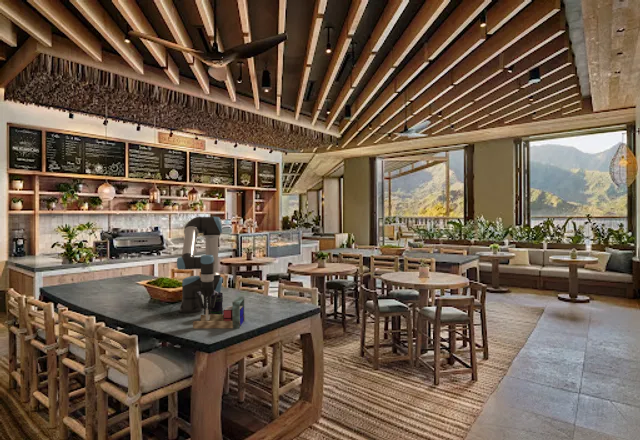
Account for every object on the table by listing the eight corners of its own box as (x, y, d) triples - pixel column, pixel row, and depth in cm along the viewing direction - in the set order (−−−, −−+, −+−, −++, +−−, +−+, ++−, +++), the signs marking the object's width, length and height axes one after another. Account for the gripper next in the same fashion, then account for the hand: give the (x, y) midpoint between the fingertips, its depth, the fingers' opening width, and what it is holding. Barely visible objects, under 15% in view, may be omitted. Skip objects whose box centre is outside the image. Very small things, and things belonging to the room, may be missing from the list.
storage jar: (217, 314, 253) (216, 291, 253) (226, 316, 247) (226, 293, 247) (204, 317, 246) (203, 294, 246) (213, 319, 240) (212, 296, 239)
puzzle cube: (240, 326, 225) (240, 309, 225) (223, 326, 225) (223, 310, 225) (243, 321, 235) (243, 305, 235) (227, 322, 235) (227, 305, 235)
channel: (193, 328, 221) (192, 302, 221) (201, 321, 236) (200, 296, 236) (239, 328, 222) (239, 302, 221) (244, 320, 237) (244, 296, 236)
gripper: (194, 282, 225) (194, 321, 225) (216, 281, 225) (216, 321, 225) (198, 279, 232) (198, 318, 233) (219, 279, 232) (220, 318, 233)
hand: (207, 319), depth 229 cm, fingers closed
